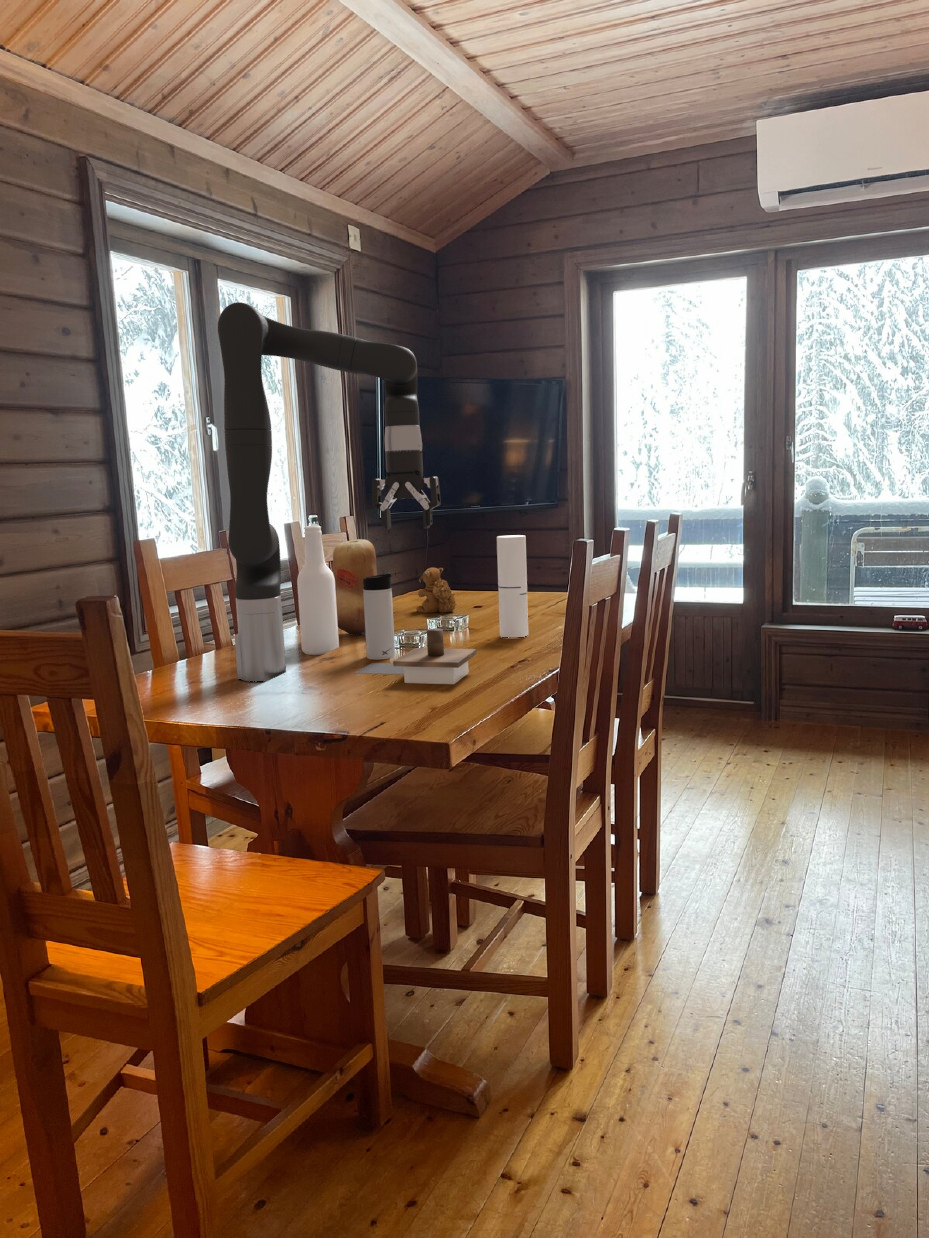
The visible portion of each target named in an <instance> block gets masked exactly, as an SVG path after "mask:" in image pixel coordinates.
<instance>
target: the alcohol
mask: <svg viewBox="0 0 929 1238" xmlns="http://www.w3.org/2000/svg"><path fill="white" fill-rule="evenodd" d="M303 529H304V533H303V534H304V564H303V567H302V568H301V570H300V571H299V572H298V575H297V580H296V582H297V583H296V584H297V596H298V613H299V626H300V627H299V628H300V641H301V643H300V645H301V651H302V652H303V653H304V654H305V655H308V656H310V655H311V656H322V655H325V654H328V653H330V652H333V651H334V650H337V649H338V648H340V641H339V628H338V624H337V607H336V592H337V590H336V581H335V578H334V572H333V571H332V570H331V569H330V568H329V566H328V565H327V564H326V559H325V553H324V547H323V546H324V545H323V539H322V534H323V532H322V526H320V525H308V526H307V525H306V526H304V527H303Z"/></svg>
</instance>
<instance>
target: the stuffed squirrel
mask: <svg viewBox="0 0 929 1238" xmlns="http://www.w3.org/2000/svg"><path fill="white" fill-rule="evenodd" d="M443 571H444V568H443V567H439V568H437V567H429V568H427V569H426V570H425V571H424V572H423V573H422V574H421V576H420V578H419V580H418V582H419V583H421V581H423V582H424V583H425V585H426V586H425V587H424V588H423V589H419V590H418V591H417V596H418V598H424V597H426V598H425V600H424V601H423V602H422V603H421V605H419V606H416V612H418V613H425V614H429V613H430V614H431V613H432V614H433V613H441V614H445V613H450V612H451V613H452V612H454V610H455V609H456V606H457V605H458V604H457V603H456V600H455V596H454V595H455V594H454V593H452V590H451V587H450V586H449V583H448V581H447V580H445V579H442V578H441V574H442V573H443Z"/></svg>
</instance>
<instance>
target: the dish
mask: <svg viewBox="0 0 929 1238" xmlns="http://www.w3.org/2000/svg"><path fill="white" fill-rule="evenodd" d="M468 674H469V660H468V661H467V662H465V663H464V664H463V665H461V666H460V667H459V668H447V667H404V675H403V677H404V679H403V680H404V684H428V685H429V684H431V685H434V684H435V685H455V684H456V683H458V682H459V681H460V680H462V678H464V677H466V675H468Z"/></svg>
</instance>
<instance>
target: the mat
mask: <svg viewBox="0 0 929 1238" xmlns="http://www.w3.org/2000/svg"><path fill="white" fill-rule="evenodd" d="M354 674H365V675H366V674H369V675H373V674H374V675H401V676H402V675H403V676H404V667H403V666H393V662H392V663H391V662H388V663H386V662H372V663H369V664H367V665H366V666H364V667H363V668H361V669H359V670H357V671H355V672H354Z"/></svg>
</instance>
